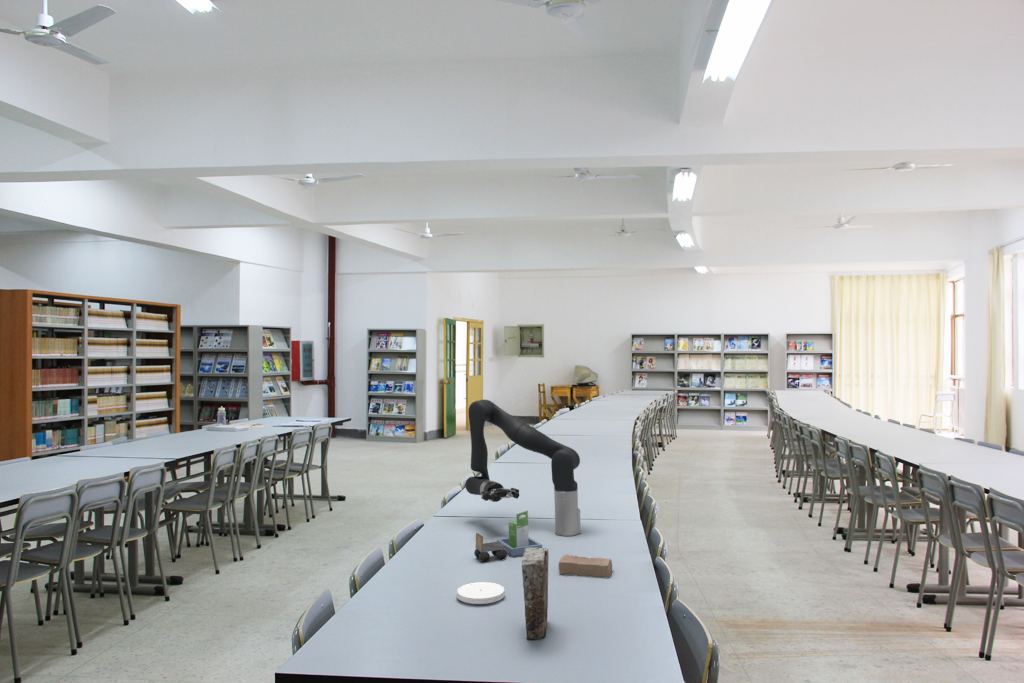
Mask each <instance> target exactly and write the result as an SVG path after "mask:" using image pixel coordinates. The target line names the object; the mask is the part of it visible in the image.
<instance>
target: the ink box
mask: <svg viewBox="0 0 1024 683" xmlns="http://www.w3.org/2000/svg"><path fill="white" fill-rule="evenodd" d="M515 515H516V520H513V521H511V522H508V538H509V546H510V547H512V548H517V547H524V546H529V537H530V536H529V512H528V510H526V511H521V512H519V513H516V514H515ZM521 516H524V517H521ZM520 517H521V518H520Z"/></svg>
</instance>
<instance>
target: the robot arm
mask: <svg viewBox="0 0 1024 683" xmlns="http://www.w3.org/2000/svg"><path fill="white" fill-rule="evenodd" d="M467 411H468V413H467V414H468V422H469V431H470V432H469V433H470V441H471V442H470V443H471V444H470V445H471V449H470V450H471V451H470V452H471V454H470V470H471V471H473V472H475V473H476V472H477V473H480V474H481V475H479V476H478V475H477V476H476V475H475V476H469V477H467V479H466V481H465V489H466V492H467V493H468V494H471V495H474V496H475V495H476V496H480V498H481V500H484V502H485V501H490V502H494V503H497V502H500V501H501V500H502V499H510V498H514V499H516V500H517V499H519V497H520V489H518V488H514V487H510V488H505V487H504V486H503V485H502V484H501V483H499V482H496V481H494V480H490V475H489V471H488V459H489V458H488V457H489V456H488V455H489V453H488V445H487V442H486V439H485V432H484V429H485V428H484V427H485V422H488V423H489V424H492V425H495V426H496V427H498V428H499V429H501V431H502V432H503V433H504V434H505V435H506V437H507V438H508V439H509V440H510V441H511V442H513V443H515V444H516V445H517V446H520V447H522V448H523V449H525V450H528V451H531V452H533V453H538V454H540V455H544V456H546V457H547V458H549V459H551V467H550V468H551V480H552V484H553V490H554V491H553V492H554V494H553V495H554V531H555V534H556V535H557V536H561V535H562V536H563V537H571V536H577V535H579V534H581V533H582V532H581V531H582V530H581V528H582V527H581V509H580V508H579V499H578V498H579V494H578V489H579V488H578V482H577V481H576V480H575V476H574V474H575V471H574V470H576V469H578V467H579V466H580V463H581V458H580V455H579V453H578V452H577V451H576V450H575V449H573V448H572V447H569V446H567V445H565V444H562V443H560V442H559V441H556V440H554V439H553V438H551V437H549V436H548V435H546V434H545V433H543V432H541V431H540V430H538V429H536V428H535V427H533V426H532V425H530V424H528V423H526V422H524V421H523V420H520V419H519V418H517V417H515V416H514V415H511V414H510V413H508V412H506V411H505V410H504V409H502V408H501V407H500V406H498V405H497V404H495V403H494V402H492V401H491V400H489V399H480V400H475V401H473V402H472V403H471V404H470V405H469V407H468V410H467Z"/></svg>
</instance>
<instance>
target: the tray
mask: <svg viewBox="0 0 1024 683" xmlns="http://www.w3.org/2000/svg"><path fill="white" fill-rule="evenodd" d="M528 537H529V546H524V547H517V548H512V547H510V546H509V537H507V538H506V537H505V538H498V539H496V542H498V541H499V542H501V543H502V544H504V545H505V546H506V549H504V550H505V551H506V552H507V554H508V555H509V556H508V555H507V556H508V557H510V558H511V557H513V558H518V556H520V557H523V555H524V551H525V548H543V544H542V543H540V542H538V541H537V540H535V539H533V538H532V537H530V536H528Z"/></svg>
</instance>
